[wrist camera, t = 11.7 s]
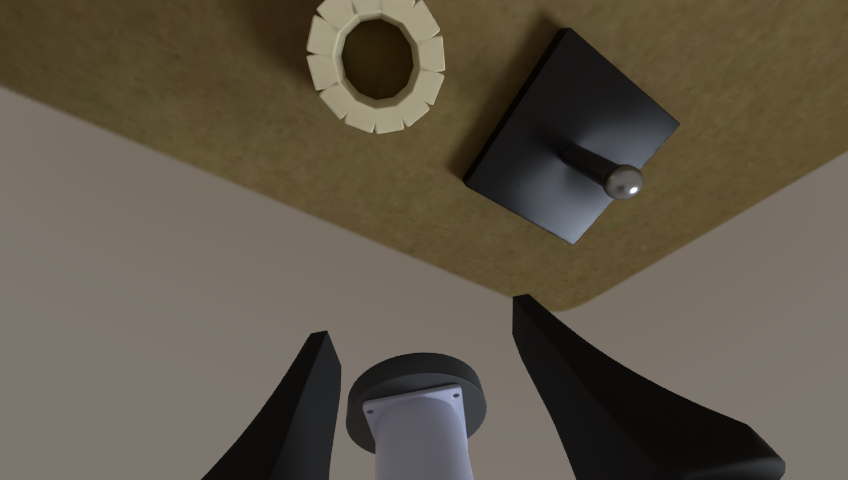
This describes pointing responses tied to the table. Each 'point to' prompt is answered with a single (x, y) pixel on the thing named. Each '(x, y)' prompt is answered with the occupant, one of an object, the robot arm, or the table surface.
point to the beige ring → (340, 15)
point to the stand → (570, 141)
